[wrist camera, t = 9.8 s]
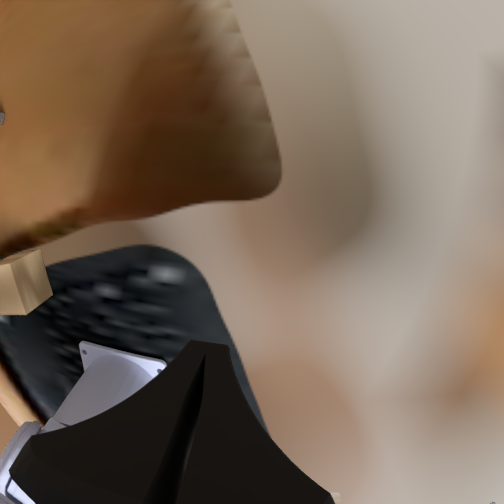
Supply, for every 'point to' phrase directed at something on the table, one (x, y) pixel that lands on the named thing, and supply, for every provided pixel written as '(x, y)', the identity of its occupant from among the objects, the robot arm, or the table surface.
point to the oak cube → (23, 283)
